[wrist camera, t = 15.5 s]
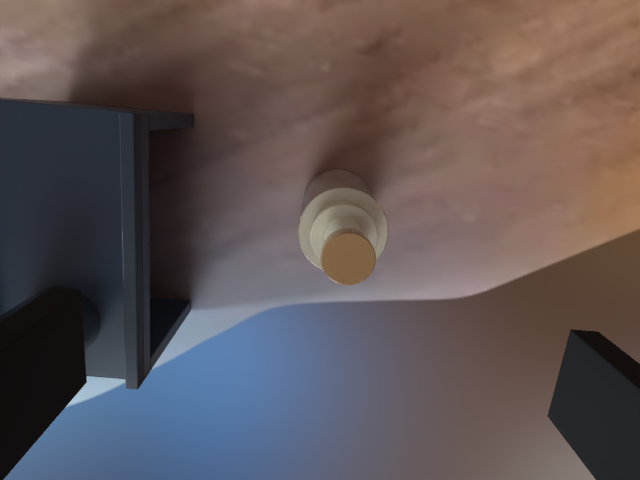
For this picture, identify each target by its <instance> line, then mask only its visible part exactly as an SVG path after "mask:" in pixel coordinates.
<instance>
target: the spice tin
mask: <svg viewBox="0 0 640 480" xmlns="http://www.w3.org/2000/svg"><path fill="white" fill-rule="evenodd" d="M51 288H58V289H70V290H73V289H71V288H67V287H49V288H45V289H43V290H41V291H39V292H37V293H36V294H34V295H33V296H31V297H29V298H28V299H26V300H25V301H23V302H21V303H20V304H18V305H16V306H15V307H13V308H12V309H10V310H8V311H7V312H5V313H4V314H2V315H0V322H1V321H2V320H4V319H6V318H7V317H9V316H10V315H12V314H13V313H15V312H16V311H18V310H19V309H21V308H22V307H24V306H25V305H27V304H28V303H30V302H31V301H33V300H34V299H36V298H37V297H39V296H40V295H42V294H43V293H45V292H46V291H48V290H49V289H51ZM82 311H83V328H84V346H85V351H86V350H87V349H88V348H89V347H90V346H91V345H92V344H93V343H94V341H95V340H96V338H97V336H98V334H99V330H100V319H99V315H98V313H97V310H96V308H95V307H94V305H93V304H92V303H91V301H90V300H89V299H88V298H87V297H85V296H84V295H83V294H82Z"/></svg>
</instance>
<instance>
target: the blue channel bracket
mask: <svg viewBox="0 0 640 480" xmlns="http://www.w3.org/2000/svg"><path fill="white" fill-rule="evenodd" d="M187 127H194V114H188V113H178V112H167V111H157V110H146V109H136V108H126V107H115V106H105V105H94V104H84V103H74V102H61V101H44V100H27V99H10V98H0V315H2V314H4V313H5V312H7V311H8V310H10V309H12V308H13V307H15V306H16V305H18V304H20V303H21V302H23V301H25V300H26V299H28V298H29V297H31V296H33V295H34V294H36V293H37V292H39V291H41V290H43V289H45V288H49V287H67V288H71V289H73V290H81V294H83V295H84V296H85V297H87V298H88V299H89V300H90V301H91V303H92V304H93V305H94V307H95V308H96V310H97V313H98V315H99V319H100V330H99V334H98V336H97V338H96V340H95V341H94V343H93V344H92V345H91V346H90V347H89V348H88V349H87V350H86V351H85V363H86V376H94V377H106V378H118V379H126V388H127V389H138V388H139V387H140V385H141V384H142V382H143V381H144V380H145V378H146V377H147V375H148V374H149V372H150V370H151V369H152V367H153V366H154V364H155V363H156V361H157V360H158V358H159V357H160V355H161V354H162V352H163V351H164V349H165V348H166V346H167V345H168V344H169V342H170V341H171V339H172V338H173V336H174V335H175V333H176V332H177V330H178V329H179V327H180V326H181V324H182V323H183V321H184V320H185V318H186V317H187V315H188V314H189V312H190V306H191V302H190V301H183V300H172V299H160V298H150V264H149V133H148V131H149V130H162V129H174V128H187Z"/></svg>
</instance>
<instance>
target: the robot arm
mask: <svg viewBox="0 0 640 480" xmlns="http://www.w3.org/2000/svg"><path fill="white" fill-rule="evenodd" d="M86 382H87V381H86V363H85V346H84V328H83V311H82V294H81V290H70V289H58V288H51V289H49V290H48V291H46V292H45V293H43V294H42V295H40V296H39V297H37V298H36V299H34V300H33V301H31V302H30V303H28V304H27V305H25V306H24V307H22V308H21V309H19V310H18V311H16V312H15V313H13V314H12V315H10V316H9V317H7V318H6V319H4V320H2V321H1V322H0V480H3V479H4V478H5V477H6V476H7V475H8V473H9V472H10V471H11V470H12V469H13V468H14V466H15V465H16V464H17V463H18V462H19V460H20V459H21V458H22V457H23V456H24V455H25V453H26V452H27V451H28V450H29V449H30V448H31V446H32V445H33V444H34V443H35V442H36V441H37V440H38V438H39V437H40V436H41V435H42V434H43V432H44V431H45V430H46V429H47V428H48V427H49V425H50V424H51V423H52V422H53V421H54V420H55V418H56V417H57V416H58V415H59V414H60V413H61V411H62V410H63V409H64V408H65V407H66V406H67V404H68V403H69V402H70V401H71V400H72V399H73V397H74V396H75V395H76V394H77V393H78V392H79V390H80V389H81V388H82V387H83V386H84V385H85V383H86ZM548 417H549V418H550V420H551V421H552V423H553V424H554V425H555V426H556V428H557V429H558V430H559V432H560V433H561V434H562V436H563V437H564V438H565V440H566V441H567V442H568V443H569V445H570V446H571V447H572V449H573V450H574V451H575V453H576V454H577V455H578V457H579V458H580V459H581V461H582V462H583V463H584V465H585V466H586V467H587V468H588V470H589V471H590V472H591V474H592V475H593V476H594V478H595V479H596V480H640V364H639V363H638V362H636V361H635V360H634V359H632V358H631V357H630V356H629V355H627V354H626V353H625V352H623V351H622V350H621V349H620V348H618V347H617V346H616V345H615V344H613V343H612V342H611V341H609V340H608V339H607V338H606V337H604V336H603V335H602V334H600V333H599V332H595V331H582V330H570V334H569V338H568V342H567V345H566V349H565V352H564V356H563V360H562V364H561V368H560V371H559V375H558V379H557V383H556V387H555V390H554V394H553V398H552V402H551V405H550V409H549V413H548Z"/></svg>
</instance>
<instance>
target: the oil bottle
mask: <svg viewBox="0 0 640 480" xmlns="http://www.w3.org/2000/svg"><path fill="white" fill-rule="evenodd" d="M387 237H388V224H387V219H386V217H385V214H384V212H383V210H382V208H381V207H380V205H379V204H378V202H377V201H376V199H375V198H374V196H373V195H372V193H371V192H370V190H369V189H368V187H367V186H366V184H365V183H364V182H363V180H362V179H361V178H360V177H358V176H357V175H355V174H354V173H352V172H350V171H346V170H341V169H335V170H329V171H326V172H323V173H321V174H319V175H318V176H317V177H315V178H314V179H313V180H312V181H311V183H310V184H309V186H308V187H307V189H306V192H305V195H304V200H303V205H302V210H301V215H300V220H299V226H298V238H299V243H300V246H301V249H302V251H303V253H304V254H305V256H306V257H307V259H308V260H309V261H310V262H311V263H312V264H313V265H315V266H316V267H317V268H319V269H321V270H323V271H324V273H325V274H326V275H327V276H328V277H329V278H330V279H331V280H332V281H334V282H336V283H338V284H342V285H353V284H357V283H360V282H362V281H363V280H365V279H366V278H367V277H368V276H369V275H370V274H371V272H372V271H373V269H374V266H375V262H376V260H377V259H378V258H379V256H380V255H381V253H382V252H383V250H384V248H385V245H386V242H387Z"/></svg>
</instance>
